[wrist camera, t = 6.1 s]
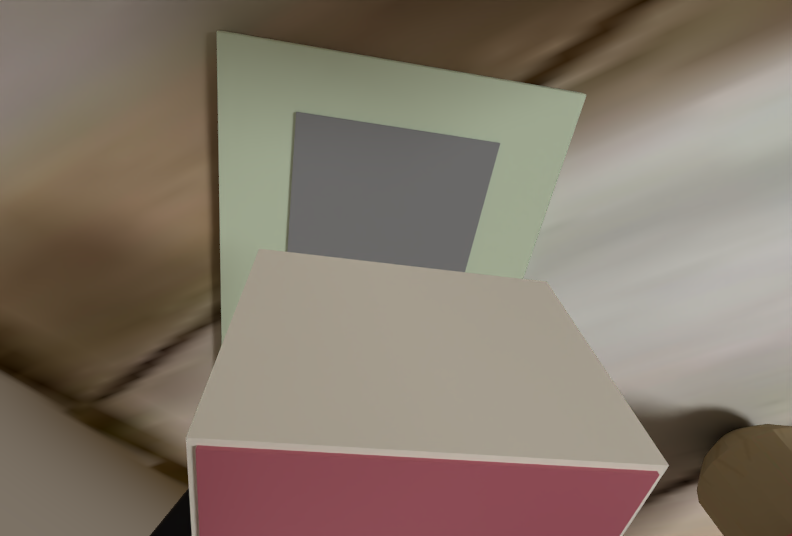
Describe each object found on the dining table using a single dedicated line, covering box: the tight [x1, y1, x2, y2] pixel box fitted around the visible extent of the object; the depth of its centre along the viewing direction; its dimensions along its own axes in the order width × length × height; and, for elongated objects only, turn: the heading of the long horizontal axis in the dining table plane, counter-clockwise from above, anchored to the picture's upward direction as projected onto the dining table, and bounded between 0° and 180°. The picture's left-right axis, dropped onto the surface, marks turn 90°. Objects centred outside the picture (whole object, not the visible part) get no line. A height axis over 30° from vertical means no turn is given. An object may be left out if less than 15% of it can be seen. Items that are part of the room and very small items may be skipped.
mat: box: [217, 30, 586, 343], centre depth 19 cm, size 12×14×1 cm
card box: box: [186, 249, 669, 536], centre depth 9 cm, size 8×5×4 cm, turn 170°
